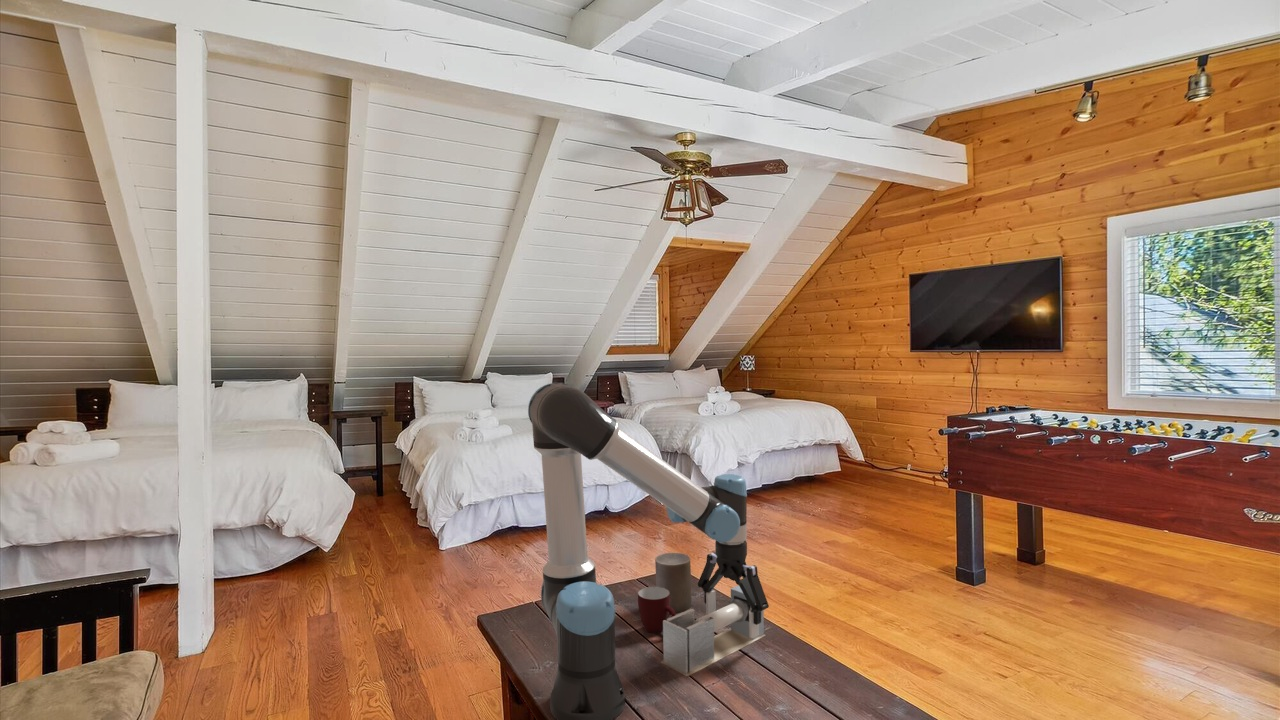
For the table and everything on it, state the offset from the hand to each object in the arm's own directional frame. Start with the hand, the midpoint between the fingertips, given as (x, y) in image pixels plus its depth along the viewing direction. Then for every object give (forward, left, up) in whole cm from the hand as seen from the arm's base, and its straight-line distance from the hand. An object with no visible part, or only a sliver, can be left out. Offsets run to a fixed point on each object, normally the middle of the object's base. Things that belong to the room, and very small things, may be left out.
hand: (732, 626), depth 158 cm
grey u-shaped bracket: (-14, 0, -3) cm, 15 cm away
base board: (-6, 0, -4) cm, 7 cm away
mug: (-9, +16, -4) cm, 19 cm away
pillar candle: (+4, +24, -4) cm, 25 cm away
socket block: (+6, 0, -3) cm, 7 cm away
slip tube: (-2, 0, +1) cm, 2 cm away
